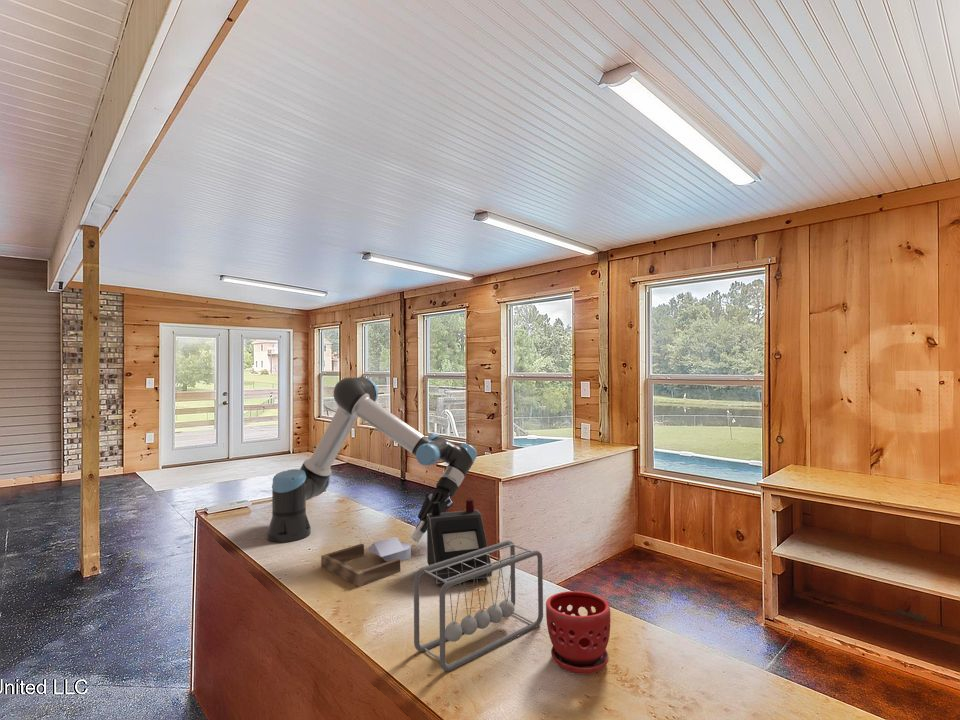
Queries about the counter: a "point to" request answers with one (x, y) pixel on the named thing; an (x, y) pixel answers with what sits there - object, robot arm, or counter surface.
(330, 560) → the walnut bay
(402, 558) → the wedge on round base
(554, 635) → the plant pot
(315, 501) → the counter surface
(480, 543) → the voltmeter
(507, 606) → the newton's cradle
